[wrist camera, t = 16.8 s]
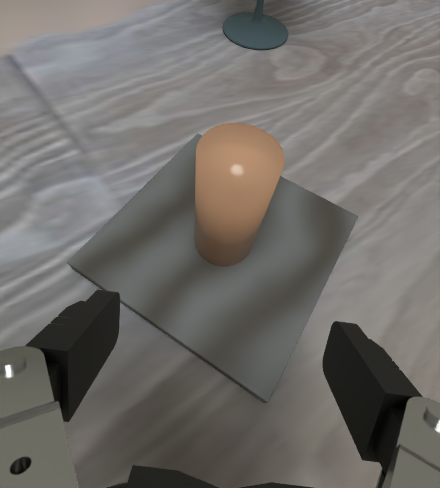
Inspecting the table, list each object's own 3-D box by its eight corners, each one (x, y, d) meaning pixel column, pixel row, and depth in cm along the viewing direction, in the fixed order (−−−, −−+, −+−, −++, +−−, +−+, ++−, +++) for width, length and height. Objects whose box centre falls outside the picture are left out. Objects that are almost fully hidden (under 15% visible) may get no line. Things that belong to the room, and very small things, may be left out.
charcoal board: (73, 269, 27) (67, 262, 26) (197, 143, 36) (197, 133, 35) (263, 402, 23) (268, 402, 22) (351, 224, 32) (358, 216, 30)
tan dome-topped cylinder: (182, 243, 27) (177, 158, 18) (217, 205, 30) (229, 111, 20) (230, 277, 26) (254, 206, 17) (263, 235, 29) (300, 150, 19)
